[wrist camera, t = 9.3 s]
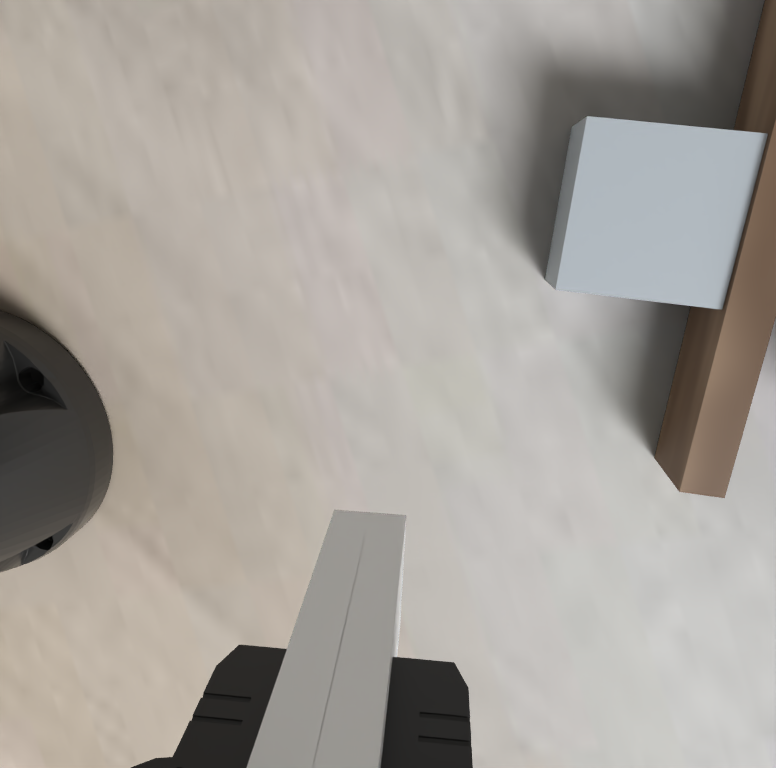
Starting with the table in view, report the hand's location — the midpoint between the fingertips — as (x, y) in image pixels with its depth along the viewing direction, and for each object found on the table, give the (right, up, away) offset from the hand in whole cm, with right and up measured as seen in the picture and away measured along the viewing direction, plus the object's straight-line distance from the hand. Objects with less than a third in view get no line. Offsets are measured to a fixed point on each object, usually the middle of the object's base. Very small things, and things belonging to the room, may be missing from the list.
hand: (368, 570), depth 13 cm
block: (+12, +12, +16) cm, 24 cm away
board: (+16, +10, +16) cm, 25 cm away
